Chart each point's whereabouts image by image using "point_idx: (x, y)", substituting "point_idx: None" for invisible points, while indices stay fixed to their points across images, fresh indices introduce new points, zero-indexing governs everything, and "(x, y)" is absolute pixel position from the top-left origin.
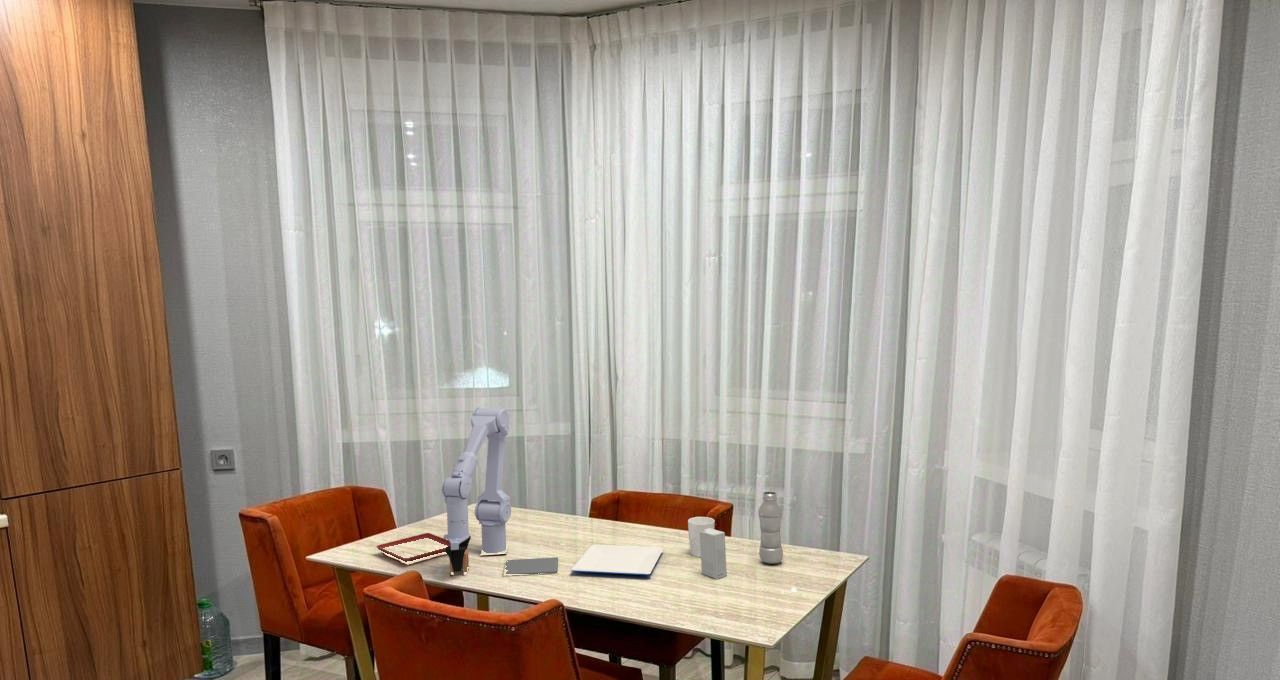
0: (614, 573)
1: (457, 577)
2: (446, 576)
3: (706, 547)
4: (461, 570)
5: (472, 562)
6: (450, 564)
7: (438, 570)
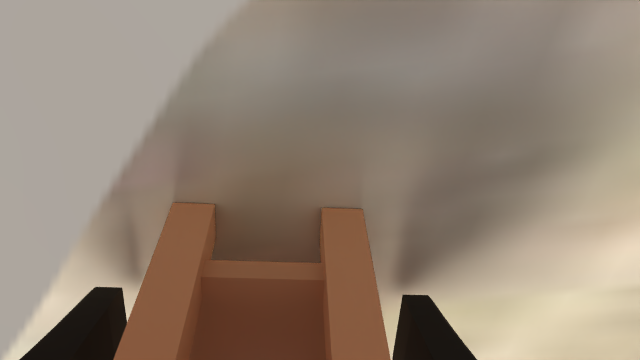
0: None
1: (130, 274)
2: (173, 166)
3: None
4: None
5: (555, 355)
6: (140, 301)
7: (416, 47)
